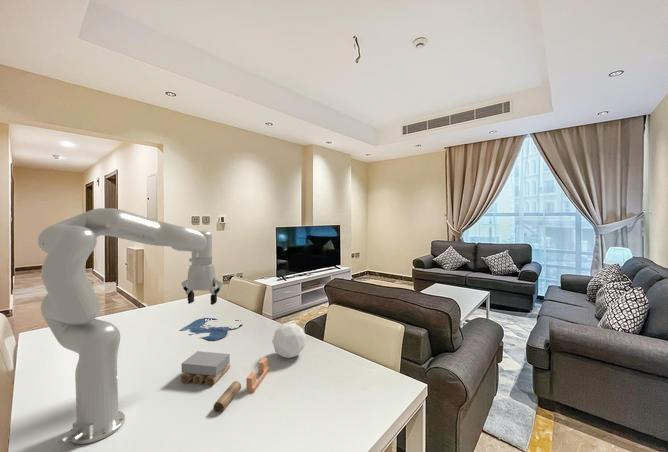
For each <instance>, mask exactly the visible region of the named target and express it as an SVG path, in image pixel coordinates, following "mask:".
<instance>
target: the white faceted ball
mask: <svg viewBox="0 0 668 452" xmlns="http://www.w3.org/2000/svg"><path fill="white" fill-rule="evenodd" d="M306 340H307V338H306V335H305V331H304V329H303V328H302V327H301V326H299V325H298V324H296V323H289V322H287V323H283V324H282V325H281V326H279V328H277V329H276V330H275V331H274V335H273V339H272V341H271V342H272V345H273V349H274V352H276V353H277V354H278V355H280V356H281V357H282V358H284V359H285V358H286V359H292V358H294V357H296V356H298V355H299V354H300V353H301V352H302V351H303V350H304V348H305V345H306Z"/></svg>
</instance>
